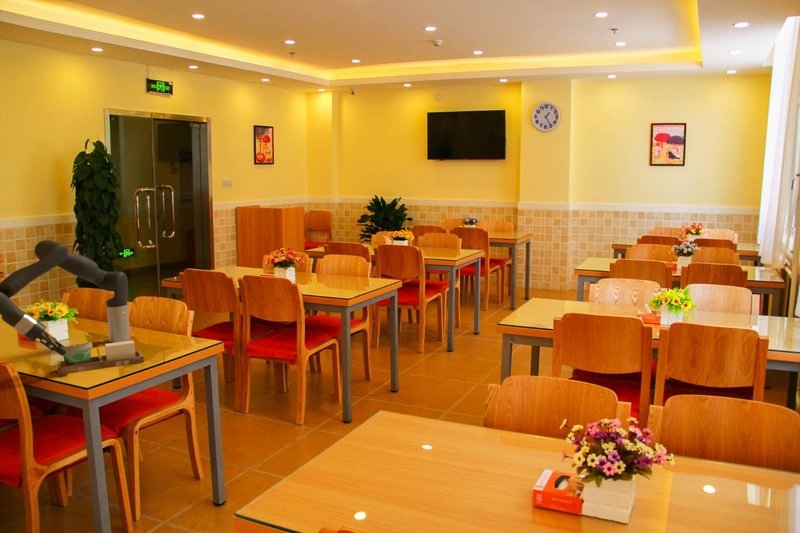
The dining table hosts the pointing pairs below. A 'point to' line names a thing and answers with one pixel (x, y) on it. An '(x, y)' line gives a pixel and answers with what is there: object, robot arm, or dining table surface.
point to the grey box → (120, 350)
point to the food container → (77, 354)
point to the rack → (98, 363)
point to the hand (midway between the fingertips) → (64, 351)
